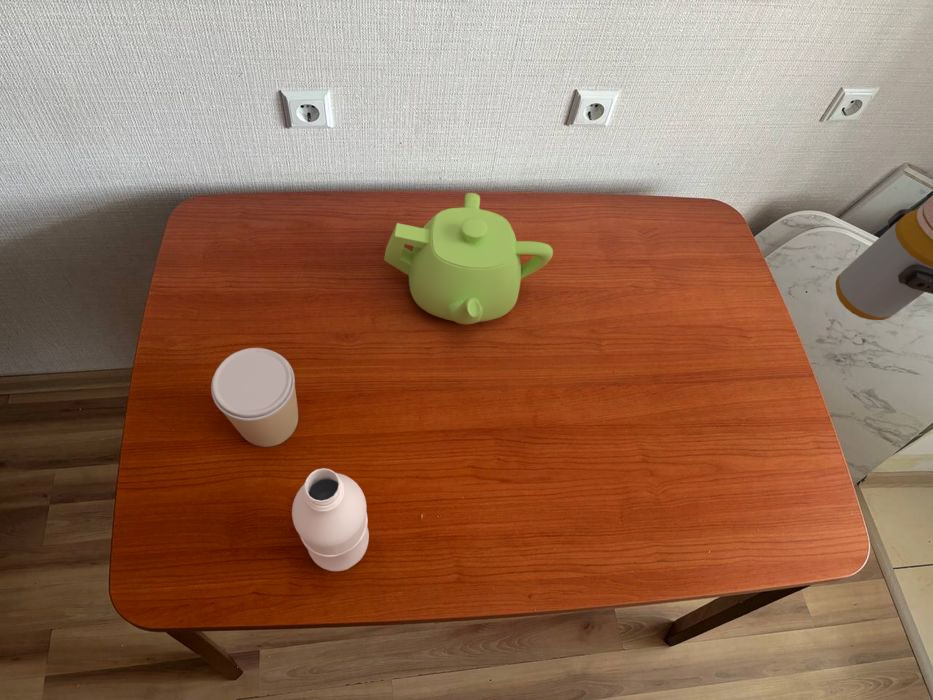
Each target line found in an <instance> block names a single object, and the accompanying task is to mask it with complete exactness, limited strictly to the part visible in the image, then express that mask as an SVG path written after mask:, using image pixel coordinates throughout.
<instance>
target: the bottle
mask: <svg viewBox="0 0 933 700" xmlns="http://www.w3.org/2000/svg"><path fill="white" fill-rule="evenodd" d="M910 265H920V266H924V267H928V268H931V269H933V195H931V196H930V197H929V198H928V199H927V200H926V201H925V202H924V203H922V204H921V205H920V206H919V207H918V208H916V209H914V210H912V211H911V212H909V213H907V214H906V215H904V216H903V217H902V218H901V219H900V220H898V221H897V222H896V223H895V224H894V225H893V226H892V227H891V228H889V229H887V230H886V231H885V232H884V233H883V234H882V235H881V236H879V238H877V239H876V240H875V241H874V242H872V244H871V245H870V246H868V247H867V248H866V249H865V250H864V251H863V252H862V253H861V254H860V255H859V256H858V257H856V258H855V259H854V260H853V261H852V262H851V263H850V264H849V265H847V267H845V268H844V269H843V270H842V271H841V272H840V273H839V274H838V276H837V278H836V280H835V292H836V295H837V298H838V300H839V302H840V303H841V304H842V306H843V307H844V308H845V309H846V310H848V311H849V312H850V313H851V314H853V315H855V316H857V317H859V318H861V319H866V320H870V321H885V320H888V319H890V318H891V317H892V316H894V315H896V314H897V313H898V312H901V310H903V309H904V308H905V307H907V306H908V305H910V304H911V303H912V302H913V301H916V299H918V298H919V297H921V295H923V294H925V292H923V291H920V290H916V289H912V288H910V287H908V286H906V285H905V284H901V283H899V279H898V275H899V274H900V273H901V272H902V271H904V270H905V269H906V268H907V267H909V266H910Z"/></svg>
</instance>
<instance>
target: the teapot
mask: <svg viewBox="0 0 933 700" xmlns="http://www.w3.org/2000/svg"><path fill="white" fill-rule="evenodd" d="M480 204H481V196H480V195H479V194H478V193H475V192H467V193H465V195H464V200H463V206H462V207H452V208H447V209H443V210H441V211H439V212H438V213H436V214H435V215H434V216H433V217H432V218H431V219H429V221H427V223H426V224H424V226H423V227H420V226H419V227H418V226H413V225H409V224H403V223H399V222H396V224H395V227H394V229H393V231H392V233H391V235H390V238H389V240H388V242H387V245H386V247H385V253H384V259H383V261H384V262H386V263H387V264H389V265H391V266H393V267H394V268H396V269H398V270H399V271H400V272H402V273H404V274H406V275H407V276H408V285H409V291H410V294H411V297H412V299H413V300H414V302H415V303H416V305H417V306H418V307H420V308H421V309H422V310H423V311H425V312H426V313H428V314H430V315H432V316H434V317H438V318H440V319H443V320H447V321H452V322H455V323H456V324H459V325H466V326H467V325H474V324H476V323H482V322H489V321H493V320H496V319H500V318H502V317H503V316H506V315H507V314H509V312H511V311H512V310H513V308H514V306H515V305H516V303H517V301H518V298H519V294H520V289H521V280H523V279H524V278H527V277H529V276H530V275H532V274H533V273H536V272H538V271H539V270H540V269H542V268H543V267H545V266H546V265H547V264H548V263H549V262H550V261H551V259H552V257H553V255H554V250H553V248H552V245H549V244H548V243H545V242H542V241H541V242H540V241H531V240H522V241H521V240H517V237H516V235H515V231H514V230H513V227H512V226H511V223H510V222H509V221H508V220H507V218H505V217H503V216H502V215H500V214H498V213H496V212H493V211H489V210H485V209H481V208H480ZM405 245H408V246H411V247H413V248H412V250H410V249H408V248H406V247H405ZM521 255H525V256H526V255H527V256H528V255H529V256H533V257H532V258H531V259H530V260H527V262H525V263H523V264H522V259H521Z"/></svg>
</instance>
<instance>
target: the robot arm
mask: <svg viewBox="0 0 933 700" xmlns="http://www.w3.org/2000/svg"><path fill="white" fill-rule="evenodd" d="M911 211H913V209H908V208H903V209H899V210H897V211H896V212H895V213H894V214H893V215H892V216H891V217H890V218H889V219H888V220H887V226H888V228H889V229H890V228H891V227H892V226H893V225H894V224H895V223H896V222H897V221H898V220H900V219H901V218H902V217H903V216H904V215H906V214H907V213H909V212H911ZM898 279H899V283H901V284H905V285H906V286H908V287H910V288H912V289H916V290H920V291H923V292H924V293H927V294H931V295H933V269H931V268H928V267H924V266H920V265H910V266H909V267H907V268H906V269H905V270H904V271H902V272H901V273H900V274H899V275H898Z"/></svg>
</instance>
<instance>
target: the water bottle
mask: <svg viewBox="0 0 933 700" xmlns="http://www.w3.org/2000/svg"><path fill="white" fill-rule="evenodd" d="M291 508H292V509H291V519H292V522H293V527H294V528H295V530H296V532H297V533H298V535H299V538H300V540H301V542H302V543H303V545H304V546H305V548H306V549H307V551H308V554H309V556H310V558H311V560H312V561H313V562H314V563H315V565H317V566H319V567H320V568H322V569H323V570H325V571H326V570H327V571H330V572H342V571H346V570H349V569H350V568H352V567H354V566H355V565H356V564H358V563H359V562H360V561H361V560H362V559H363V557H364V556H365V554H366V552H367V549H368V546H369V541H370V540H369V539H370V534H369V527H368V523H369V521H368V518H369V517H368V513H367V501H366V497H365V495H364V492H363V490H362V488H361V487H360V486H359V484H358V483H357V482H356V481H355V480H353V479H352V478H351V477H349V476H347V475H346V474H342V473H339V472H336V471H334V470H332V469H330V468H324V467H323V468H322V467H321V468H318V469H315V470H313V471H312V472H311V473H310V474H309V475H308V476H307V477H306V480H305V481H304V484H302V486H301V487H300V488H299V489H298V491H297V492H296V494H295V497H294V499H293V502H292V507H291Z"/></svg>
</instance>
